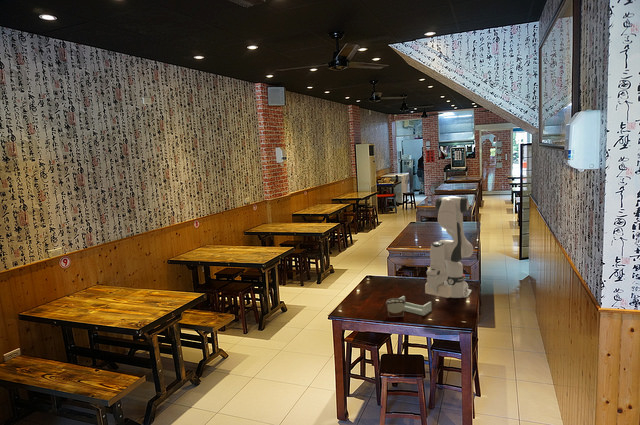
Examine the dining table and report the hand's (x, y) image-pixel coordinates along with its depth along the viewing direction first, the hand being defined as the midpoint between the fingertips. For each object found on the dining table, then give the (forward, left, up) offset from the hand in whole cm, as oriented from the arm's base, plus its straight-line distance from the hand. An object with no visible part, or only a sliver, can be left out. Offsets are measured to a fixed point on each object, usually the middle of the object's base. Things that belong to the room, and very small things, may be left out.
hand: (438, 291), depth 259 cm
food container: (+10, -24, -17) cm, 31 cm away
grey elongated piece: (-4, -19, -17) cm, 26 cm away
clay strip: (0, 0, -2) cm, 2 cm away
